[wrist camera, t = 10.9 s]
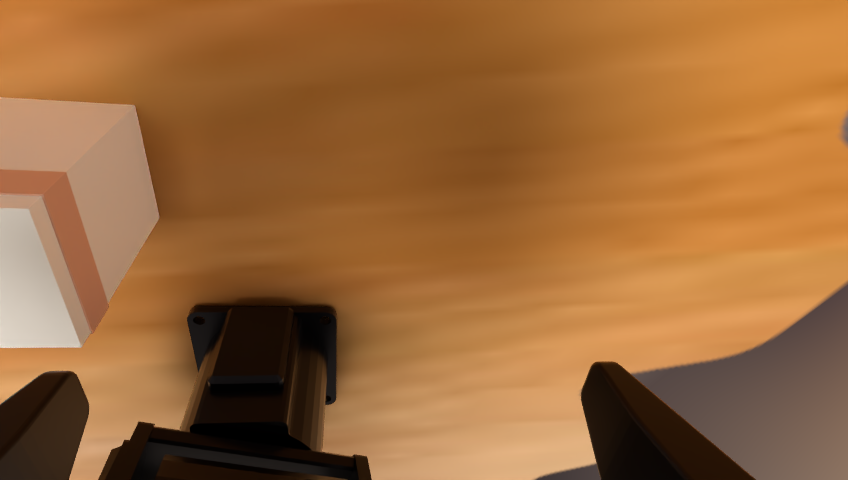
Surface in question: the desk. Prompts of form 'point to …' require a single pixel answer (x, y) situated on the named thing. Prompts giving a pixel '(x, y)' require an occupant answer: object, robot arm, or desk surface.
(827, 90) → the desk surface
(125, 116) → the light grey boxy piece
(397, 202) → the desk surface
